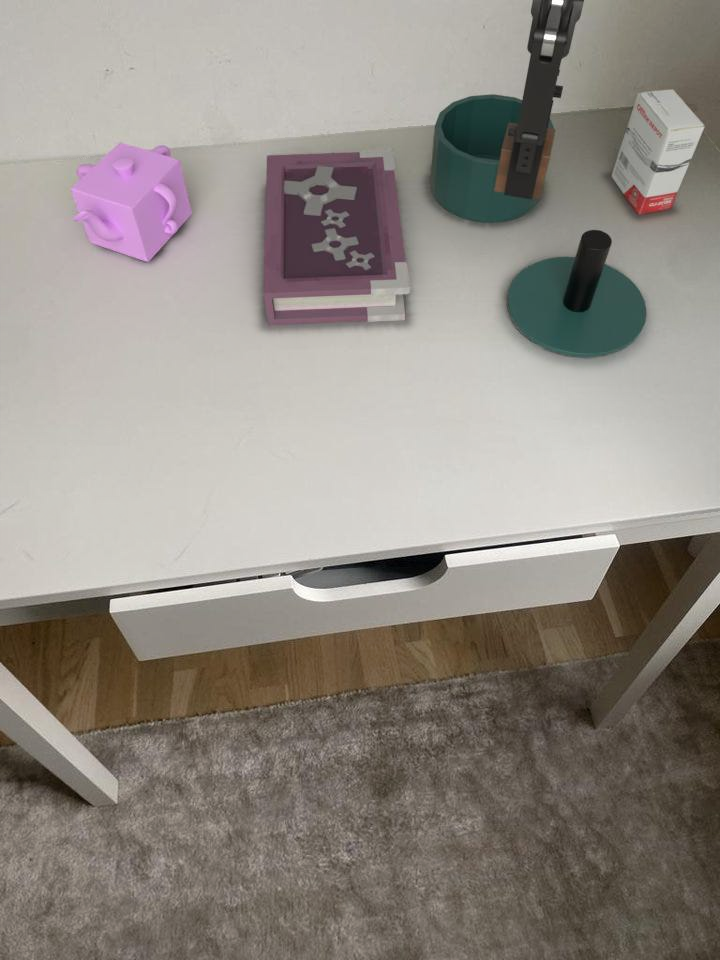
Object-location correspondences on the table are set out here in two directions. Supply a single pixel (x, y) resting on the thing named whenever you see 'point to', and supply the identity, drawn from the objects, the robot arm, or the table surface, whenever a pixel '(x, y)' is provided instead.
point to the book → (333, 239)
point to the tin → (475, 159)
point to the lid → (578, 302)
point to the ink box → (656, 150)
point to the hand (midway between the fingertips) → (522, 178)
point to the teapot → (132, 200)
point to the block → (506, 158)
